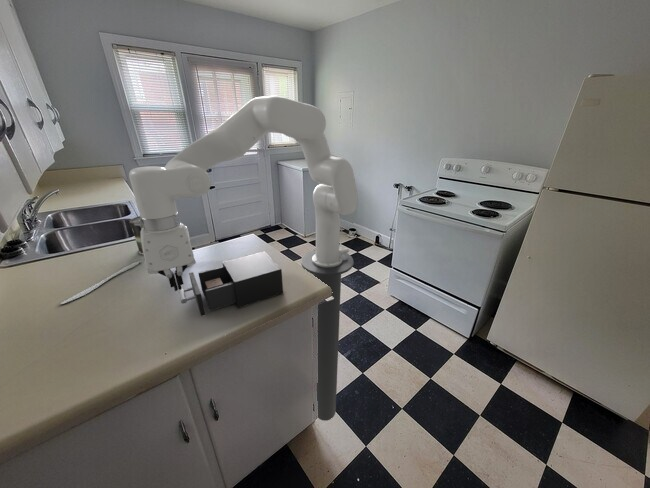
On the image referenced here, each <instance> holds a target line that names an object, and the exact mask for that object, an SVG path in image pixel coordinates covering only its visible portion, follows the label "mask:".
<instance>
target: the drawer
mask: <svg viewBox="0 0 650 488" xmlns="http://www.w3.org/2000/svg"><path fill="white" fill-rule="evenodd" d="M188 276H189V280H190V282H191V287H189V288H188V287H187V288H185V289H184V288H182V289H181V290H180V289H178V290H177V292H178V296H179V300H180V303H181V304H182V305H183V304H186V303H187V302H188V301H192V300H195V301H196V304H197V308H198V311H199V314H200V317H204V316H206V315H207V314H206V309H205V306H204V302H203V301H204V300H203V297H204V299H205V302H206V304H207V307H208V310H209V311H210V312H212V311H215V310H218V309H220V308H224V307H227V306H231V305H233V304H236V303H237V298H236V292H235V286H234V282H233V281H232V279H231V277H230V275H229V274H228V272H227V270H226V269H225V267H224V266H223V265H222V266H219V267H214V268H210V269H207V270H203V271H199V272H198V277H199V282H200V286H199V284H198V282H197V279H196V276H195V274H194V272H189V273H188ZM217 278H220V279H221V281H222V283H223V285H222V286H218V287H215V288H211V289H208V290H207V289H206V284H205V282H206V281H209V280H213V279H217ZM200 287H201V290H200ZM190 291H192V292H193V296H189V297H187V295H186V293H187V292H190ZM201 291H202V293H201ZM202 294H203V296H202Z"/></svg>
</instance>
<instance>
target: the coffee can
mask: <svg viewBox="0 0 650 488" xmlns="http://www.w3.org/2000/svg"><path fill="white" fill-rule="evenodd" d="M139 218H141V217H140V215H138V216H135V217H133V218H131V219H130V220H129V225H130V227H131V230H132V233H133V236H134V239H135V243H136V246H137V249H138V253H139V254H140V255H142V256H144V254H143V249H142V244H141V229H143V227H141V226H135V225H134V221H135V220H138V219H139Z"/></svg>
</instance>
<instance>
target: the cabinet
mask: <svg viewBox="0 0 650 488" xmlns="http://www.w3.org/2000/svg"><path fill="white" fill-rule="evenodd" d="M221 263H222V266H224V267H225V269H226V270H227V272H228V274H229V275H230V277H231V279H232V281H233V282H234V286H235V292H236V298H237V303H235V305H236V306H237V308H238V309H239V308H243V307H246V306H249V305H252V304H254V303H255V304H256V303H257V302H258V303H259V302H261V301H263V300H267V299H269V298H272V297H276V296H279V295H282V294H284V286H283V272H282V268H281V267H280V266H279V265H278V263H276V261H274V259H273V258H272V257H271V256H270V255H269V254H268V253H267V252H266V251H260V252H256V253H252V254H248V255H244V256H239V257H236V258H231V259H227V260H223V261H222V262H221Z"/></svg>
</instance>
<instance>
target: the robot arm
mask: <svg viewBox="0 0 650 488" xmlns="http://www.w3.org/2000/svg"><path fill="white" fill-rule="evenodd" d="M326 125H327V120H326V116H325V114H324V112H323V111H322V109H320V108H319V107H317V106H315V105H312V104H309V103H305V102H301V101H299V100H294V99H291V98H289V97H285V96H282V95H281V96H280V95H267V96H266V95H265V96H257V97H254V98H252V99H250V100H249V101H247V102H246V103H245V104H244V105H243V106H242V107H241V108H239V109H238V110H237V111H236V112H234V113H233V114H232V115H231V116H229V118H227V119H226V120H224V121H223V123H221V124H220V125H219V126H217V127H216V128H215V129H213V130H211V131H209V132H208V133H206V134H205V135H203V136H201V137H200V138H198V139H197V140H195V141H193V142H191V143H190V144H188V145H187V146H186V147H184V148H183V149H182V150H180V151H179V152H178V153H177V154H176V155H174V157H172V158H171V159H170V160H169V161H168V162H167V163H166V164H165V166H164V167H163V166H156V165H155V166H154V165H150V166H140V167H139V166H138V167H134V168H131V170H130V171H129V173H128V178H129V182H130V185H131V189H132V192H133V197H134V199H135V203H136V207H137V210H138V214H139V216H140V217H141V218H139V219H138V220H135V221H134V225H135V226H141V227H143V229H141V244H142V249H143V254H144V255H143V257H144V262H145V266H146V267H147V274H149V275H157V274H159V275H161V276H164V277H166V279H168V282H169V286H170V288H173V289H174V292H178V291H179V289H180V290H181V289H183V288H182V285H185V284H184V279H183V276H182V275H183V273H184V272H185V270H186V269H187V268H189V267H191V266H192V265H195V264H196V263H197V262H196V259H195V256H194V252H193V247H192V244H191V238H190V239H189V237H190V235H189V236H188V233H187V231H186V228H185V226H186V225H185V224H184V223H183V222H181V220H180V216H179V212H178V207H177V203H176V199H195V198H200V197H202V196H204V195H206V194H207V193H208V192H209V190H210V188H211V185H212V182H211V178H210V176H209V175H210V174H209V173H208V172H207V171H208V170H210V169H211V168H213V167H214V166H216V165H218V164H222V163H225V162H230V161H233V160H236V159H238V158H241V157H243V156H244V155H245V154H246V153H247V152H249V151H250V149H252V148H253V147H254V146H255V145H256V144H258V142H259V141H260V140H262V139H263V138H264V137H265V136H266V135H267V134H269V133H274V134H281V135H284V136H286V137H288V138H292V139H293V140H295V141H296V142H297V143H298V145H299V146H300V147H301V151H302V153H303V155H304V160H305V162H306V166H307V170H308V173H309V176H310V178H311V180H312V181H313V182H315V183H318V185H316V187H314V190H313V192H312V203H313V207H314V214H315V215H314V216H315V250H316V254H315V255H313V257H312V262H313V263H314V264H315V265H317V266H320V267H326V268H330V267H336V266H338V265H340V264H341V263H342V261H343V258H342V256H341V255H343V253H349V252H350V250H349V247H346V248H343V247H342V246H340V241H341V240H340V239H341V238H340V237H341V216H340V215H343V216H347V215H351V214H353V213H354V212H355V211H356V209H357V207H358V202H359V201H358V200H359V199H358V190H357V184H356V179H355V173H354V169H353V166H352V165H351V163H350V161H348V160H347V159H346V158H343V157H340V156H334V155H332V153H331V150H330V147H329V144H328V140H327V138H326V135H325V130H326V127H327V126H326ZM171 269H175V270H174V271H175V272H173V271H172V270H171Z"/></svg>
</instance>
